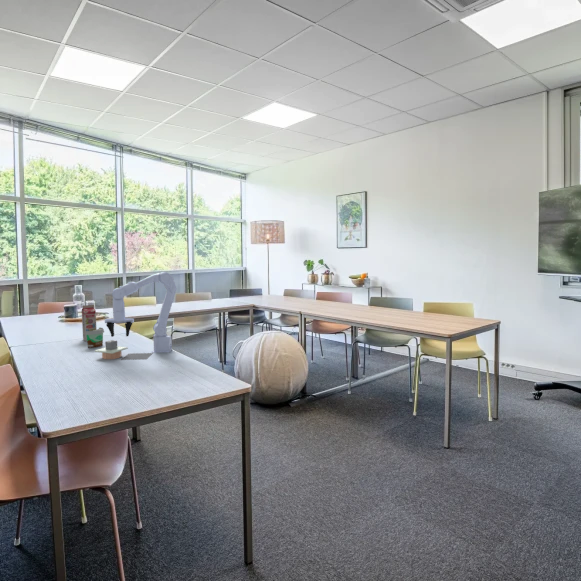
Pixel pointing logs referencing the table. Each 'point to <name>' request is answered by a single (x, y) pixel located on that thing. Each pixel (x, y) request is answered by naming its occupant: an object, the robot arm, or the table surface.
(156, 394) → the table surface
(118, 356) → the tan bowl
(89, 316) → the juice carton
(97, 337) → the food container
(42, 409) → the table surface
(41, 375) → the table surface
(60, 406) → the table surface
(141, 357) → the mat
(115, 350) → the sheet lid
